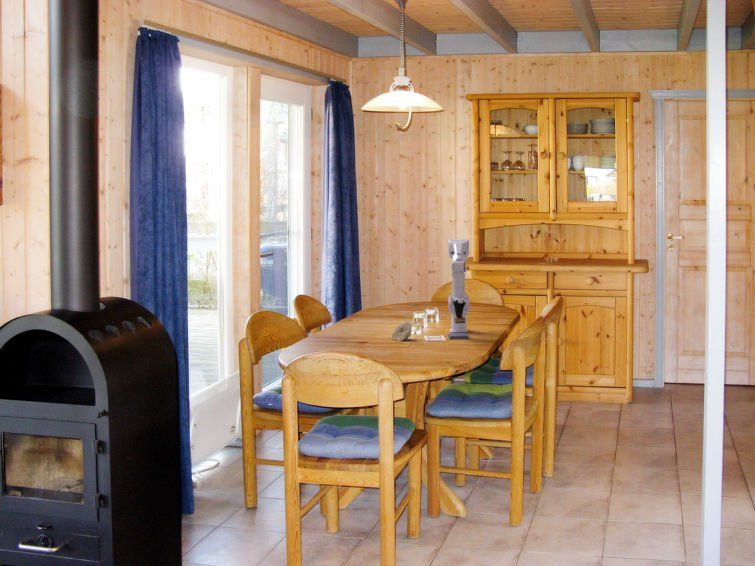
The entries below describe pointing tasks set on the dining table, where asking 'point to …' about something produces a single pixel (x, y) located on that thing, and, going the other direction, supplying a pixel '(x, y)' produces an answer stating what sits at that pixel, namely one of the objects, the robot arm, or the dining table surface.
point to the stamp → (459, 320)
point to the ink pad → (458, 336)
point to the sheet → (435, 338)
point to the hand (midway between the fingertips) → (458, 316)
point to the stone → (402, 331)
